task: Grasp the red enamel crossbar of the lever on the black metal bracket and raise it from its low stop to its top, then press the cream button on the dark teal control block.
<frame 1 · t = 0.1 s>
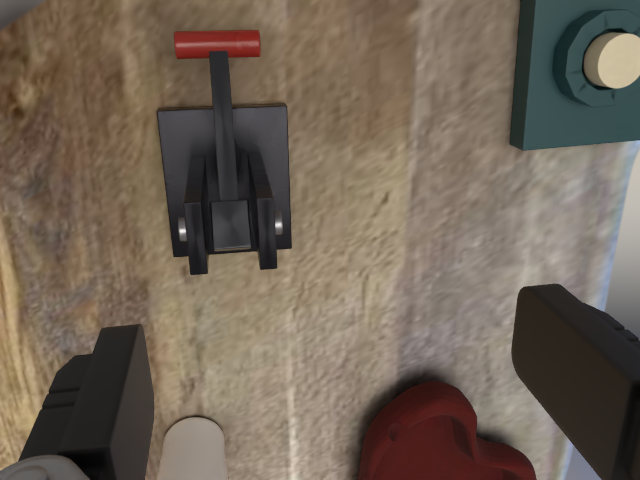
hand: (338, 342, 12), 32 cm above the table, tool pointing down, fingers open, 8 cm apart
control block: (577, 55, 45), on the table
lever: (224, 139, 35), point 8 cm above the table, hinge at -25.0°
button: (614, 60, 40), point 5 cm above the table, slide at 0.1 cm
bracket: (228, 179, 44), on the table
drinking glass: (194, 436, 52), on the table
ashtray: (416, 455, 57), on the table
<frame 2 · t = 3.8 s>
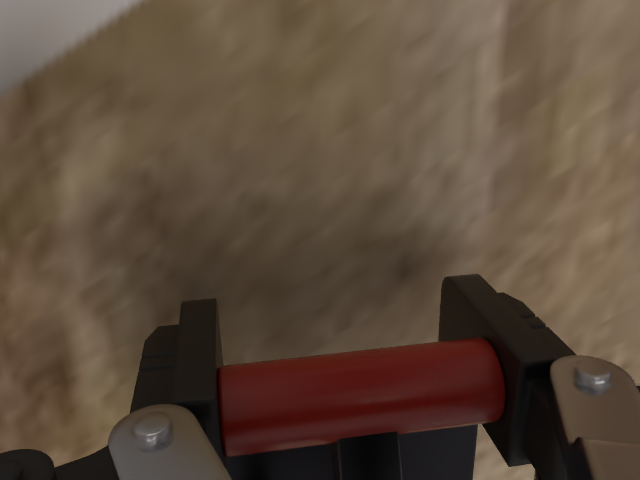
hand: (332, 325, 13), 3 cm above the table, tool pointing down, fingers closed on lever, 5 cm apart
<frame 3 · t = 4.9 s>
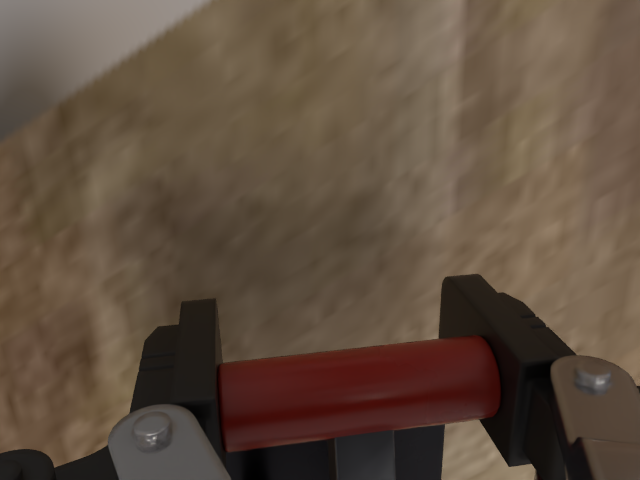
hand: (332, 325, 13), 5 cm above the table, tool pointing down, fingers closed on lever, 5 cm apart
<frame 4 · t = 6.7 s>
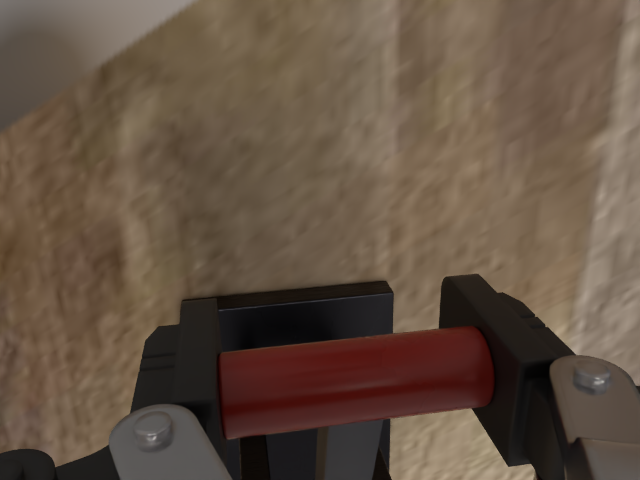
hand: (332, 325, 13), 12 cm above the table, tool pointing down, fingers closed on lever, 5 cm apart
bracket: (291, 394, 28), on the table
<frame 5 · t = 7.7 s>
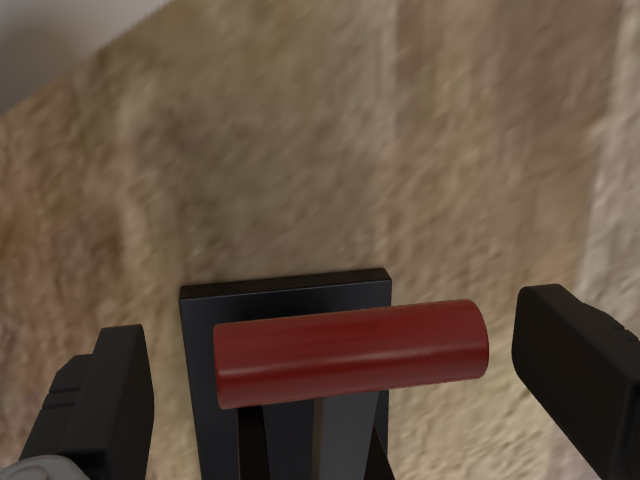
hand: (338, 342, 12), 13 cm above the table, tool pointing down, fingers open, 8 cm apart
bracket: (290, 381, 28), on the table
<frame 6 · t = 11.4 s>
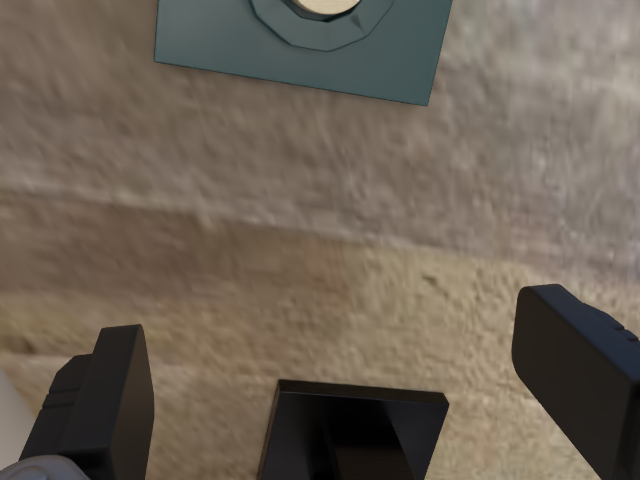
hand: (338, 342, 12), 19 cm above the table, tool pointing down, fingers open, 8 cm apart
bracket: (347, 443, 38), on the table
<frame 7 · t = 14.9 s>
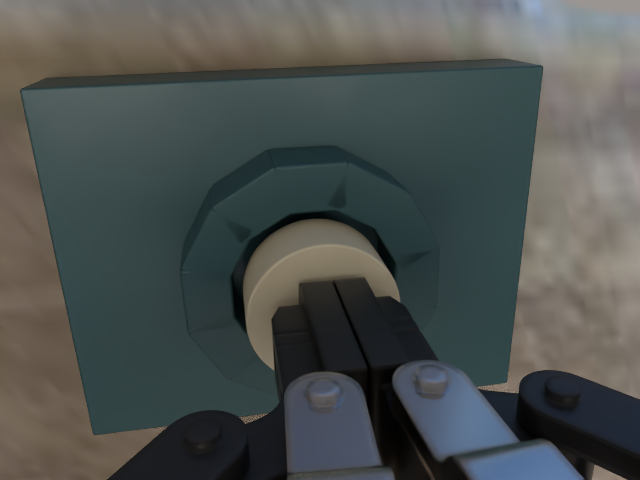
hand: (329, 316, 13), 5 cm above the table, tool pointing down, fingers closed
control block: (295, 233, 18), on the table
button: (319, 299, 14), point 5 cm above the table, slide at 0.1 cm, touching gripper
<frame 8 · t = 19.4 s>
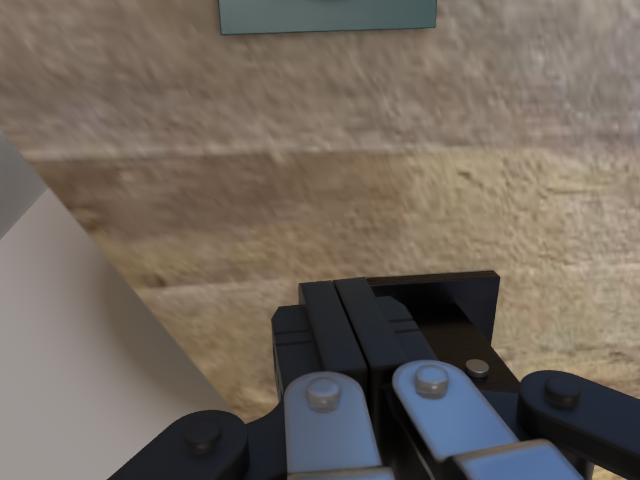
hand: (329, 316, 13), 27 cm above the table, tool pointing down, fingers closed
bracket: (421, 325, 46), on the table
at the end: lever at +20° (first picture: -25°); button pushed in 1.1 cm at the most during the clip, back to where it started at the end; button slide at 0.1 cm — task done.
